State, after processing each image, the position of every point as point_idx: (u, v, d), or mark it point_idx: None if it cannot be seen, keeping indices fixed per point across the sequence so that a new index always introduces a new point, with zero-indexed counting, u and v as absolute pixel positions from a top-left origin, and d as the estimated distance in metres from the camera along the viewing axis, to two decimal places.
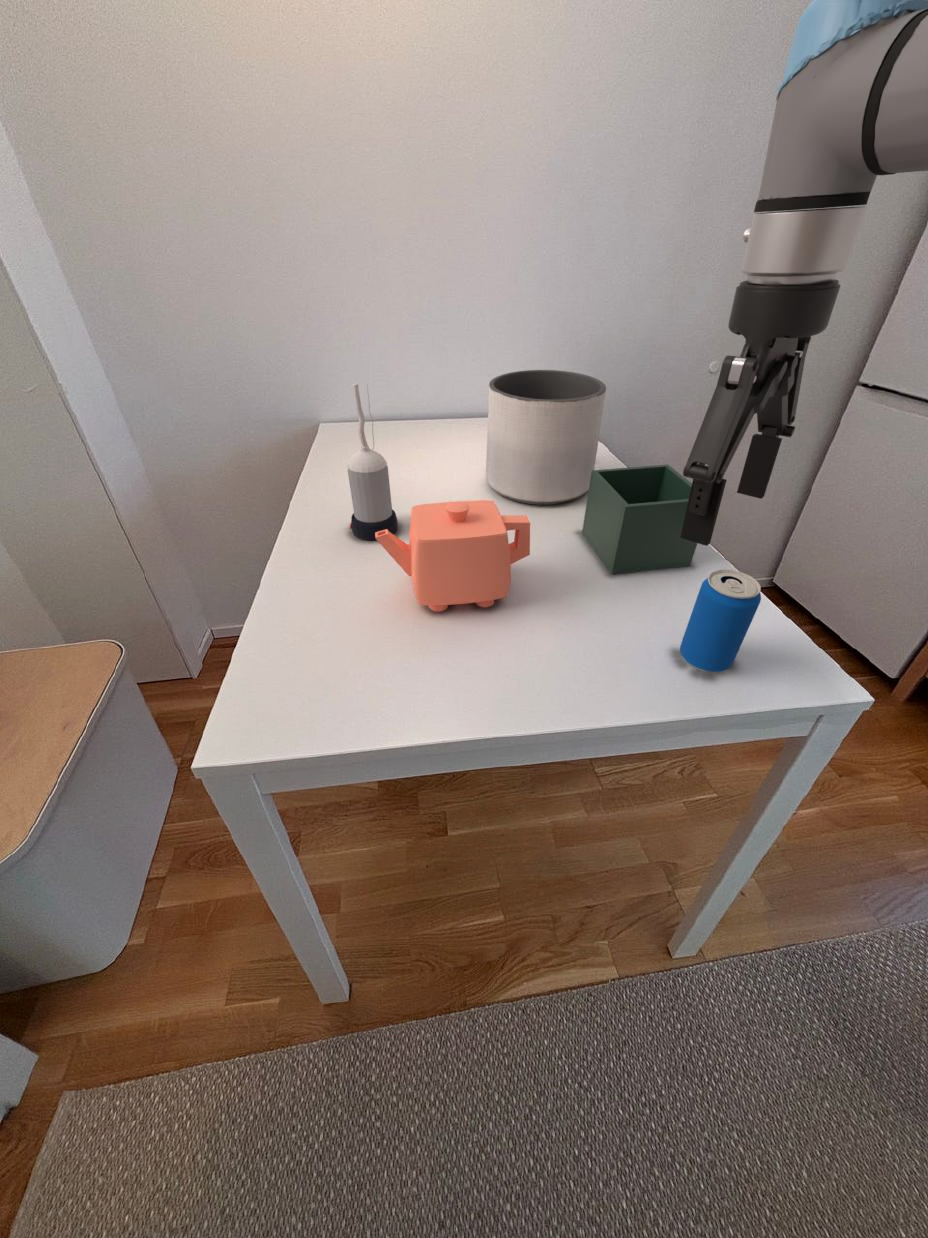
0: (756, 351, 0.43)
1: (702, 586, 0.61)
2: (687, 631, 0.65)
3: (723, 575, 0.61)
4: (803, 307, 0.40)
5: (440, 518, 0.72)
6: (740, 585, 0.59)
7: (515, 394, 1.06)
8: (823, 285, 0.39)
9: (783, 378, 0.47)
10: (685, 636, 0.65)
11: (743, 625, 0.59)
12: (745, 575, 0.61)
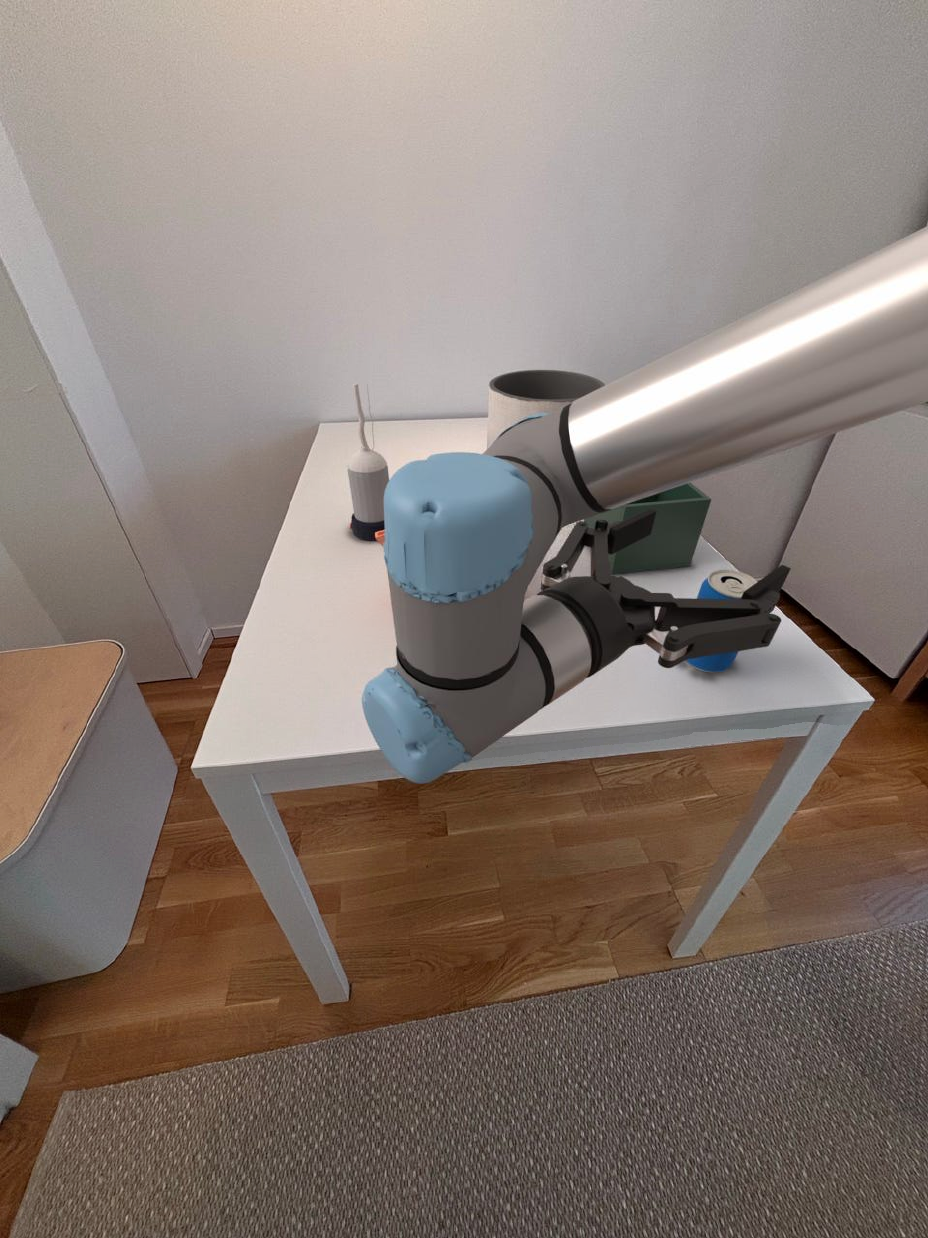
0: (637, 635, 0.39)
1: (702, 586, 0.61)
2: None
3: (723, 575, 0.61)
4: (607, 622, 0.37)
5: None
6: (740, 585, 0.59)
7: (515, 394, 1.06)
8: (584, 615, 0.37)
9: None
10: None
11: None
12: (745, 575, 0.61)
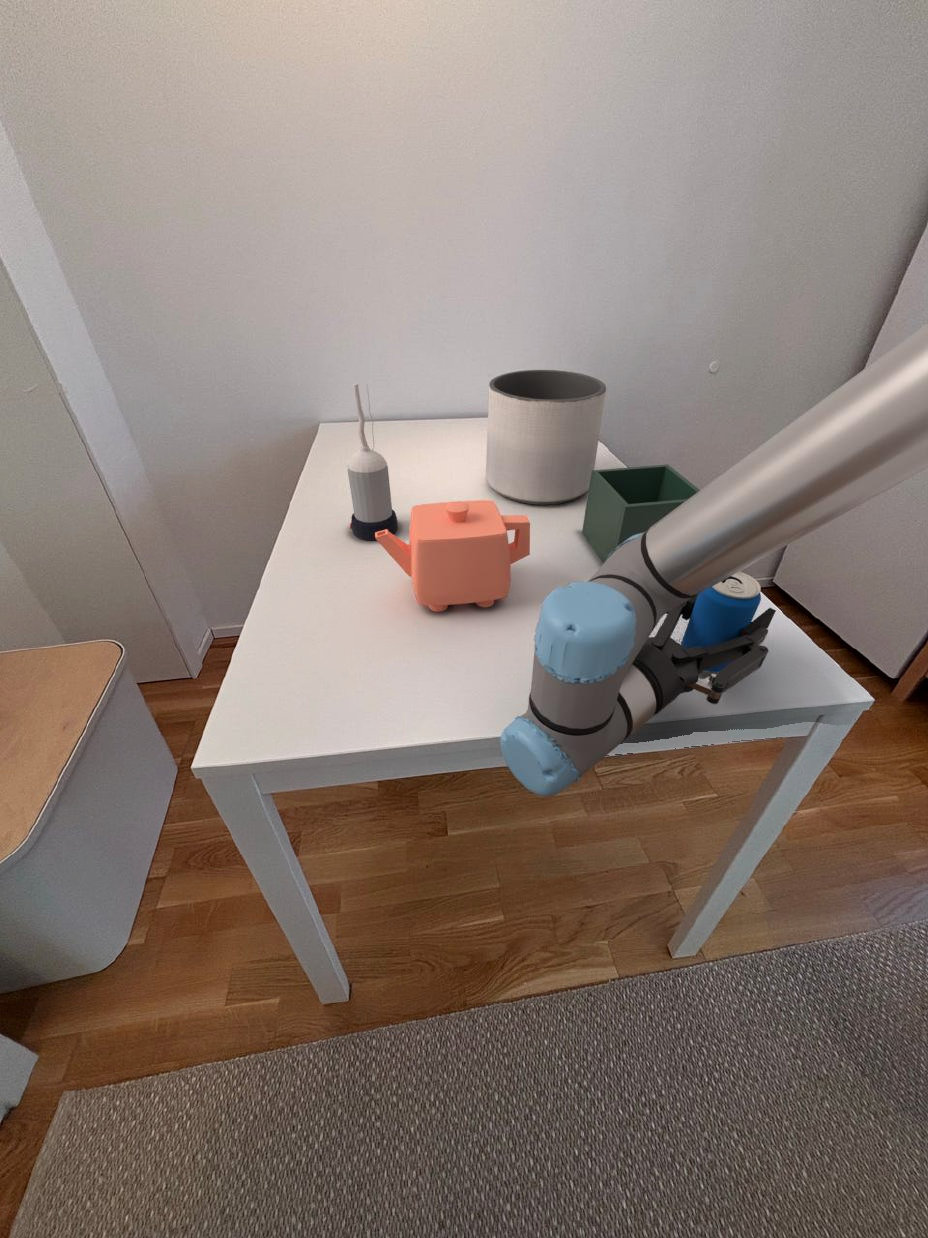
0: (685, 685, 0.54)
1: None
2: (687, 631, 0.65)
3: None
4: (666, 679, 0.52)
5: (440, 518, 0.72)
6: (740, 585, 0.59)
7: (515, 394, 1.06)
8: (650, 674, 0.51)
9: None
10: (685, 636, 0.65)
11: (743, 625, 0.59)
12: (745, 575, 0.61)
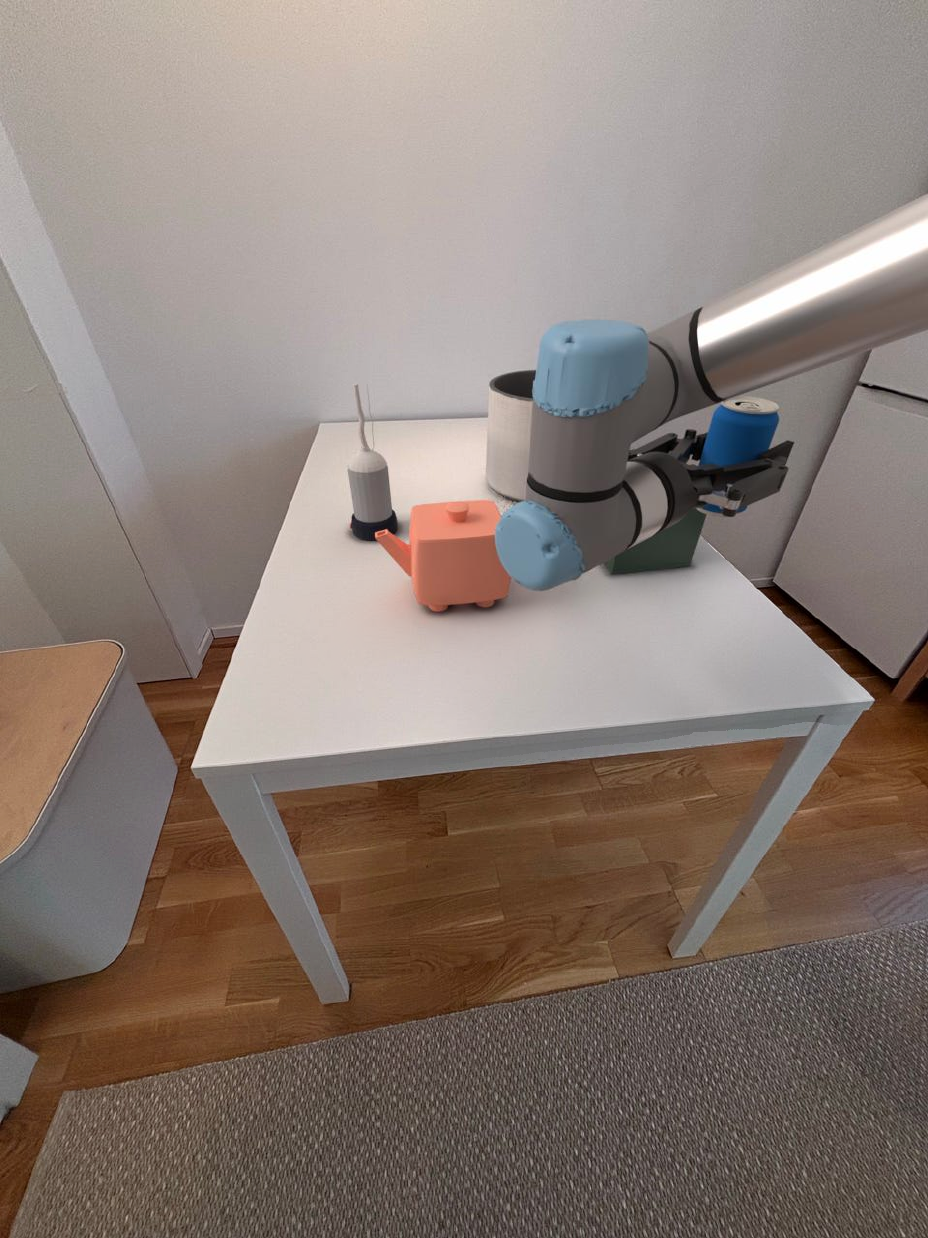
0: (699, 497, 0.49)
1: (715, 412, 0.56)
2: None
3: (737, 401, 0.56)
4: (678, 480, 0.47)
5: (440, 518, 0.72)
6: (757, 406, 0.54)
7: (515, 394, 1.06)
8: (660, 473, 0.46)
9: None
10: None
11: (759, 449, 0.55)
12: (761, 400, 0.56)
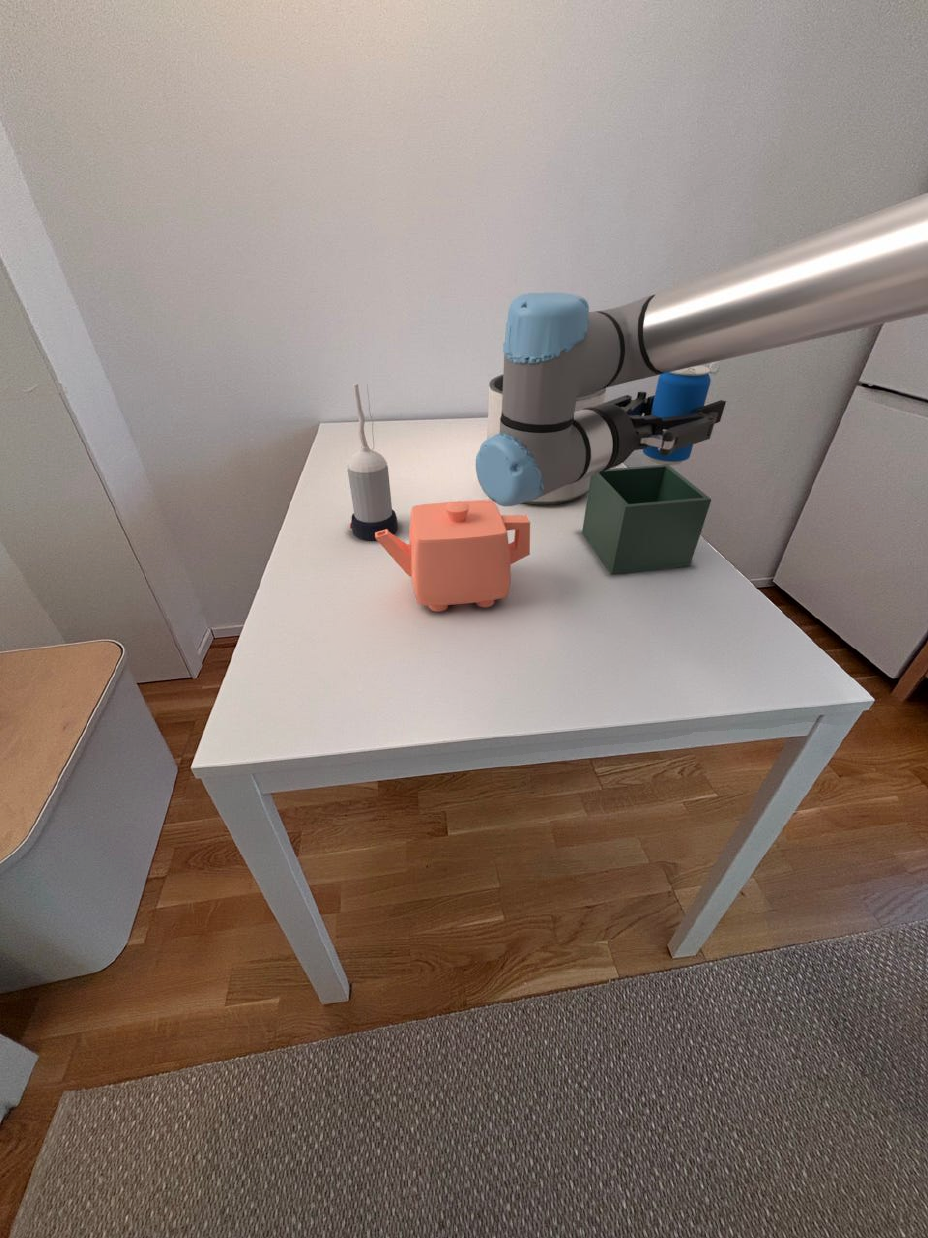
0: (640, 440, 0.61)
1: (659, 376, 0.68)
2: None
3: None
4: (622, 424, 0.59)
5: (440, 518, 0.72)
6: (692, 370, 0.67)
7: None
8: (607, 418, 0.59)
9: None
10: None
11: (695, 405, 0.67)
12: (697, 366, 0.68)
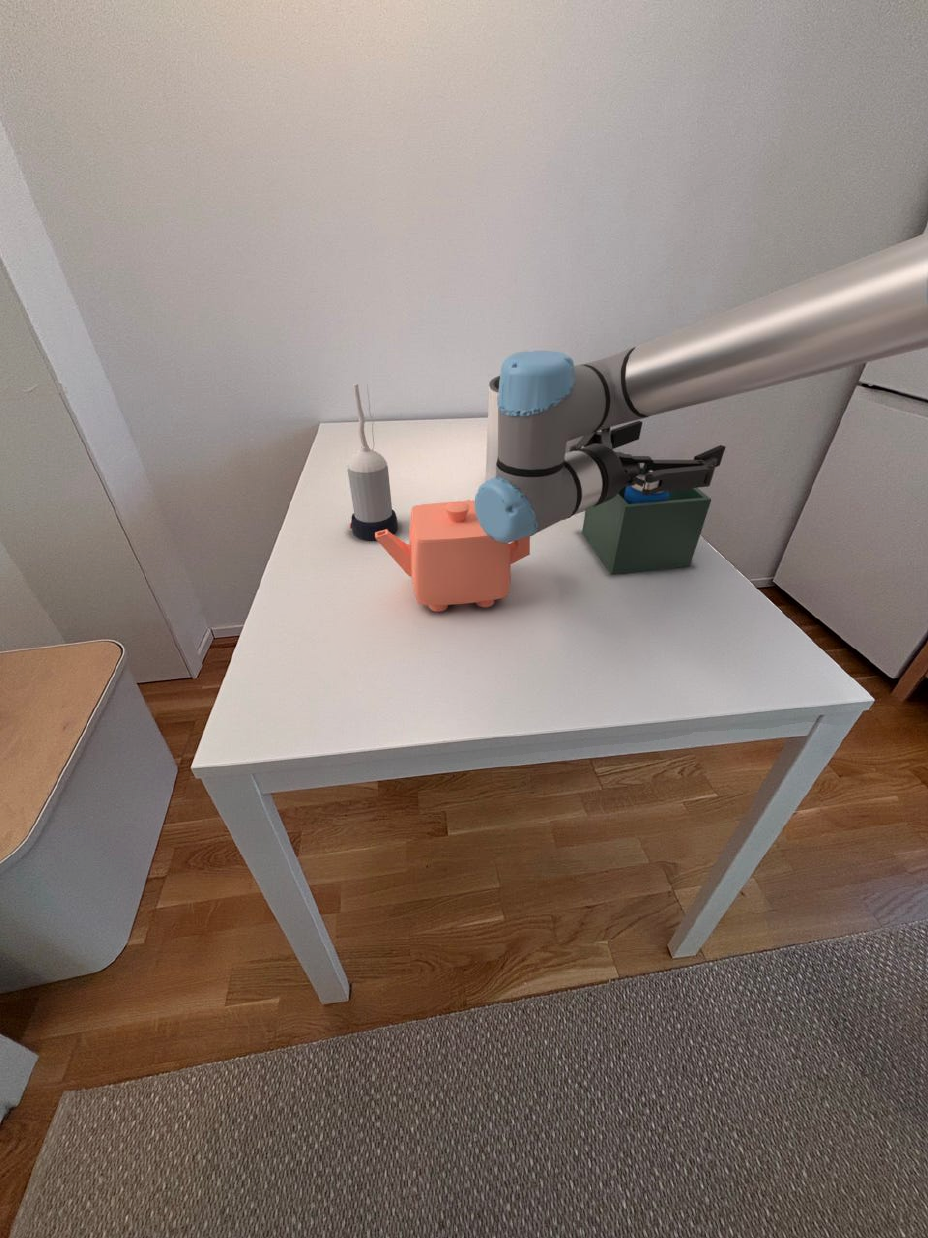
0: (629, 477, 0.66)
1: (626, 489, 0.80)
2: None
3: None
4: (611, 464, 0.63)
5: (440, 518, 0.72)
6: None
7: None
8: (597, 459, 0.63)
9: None
10: None
11: None
12: None
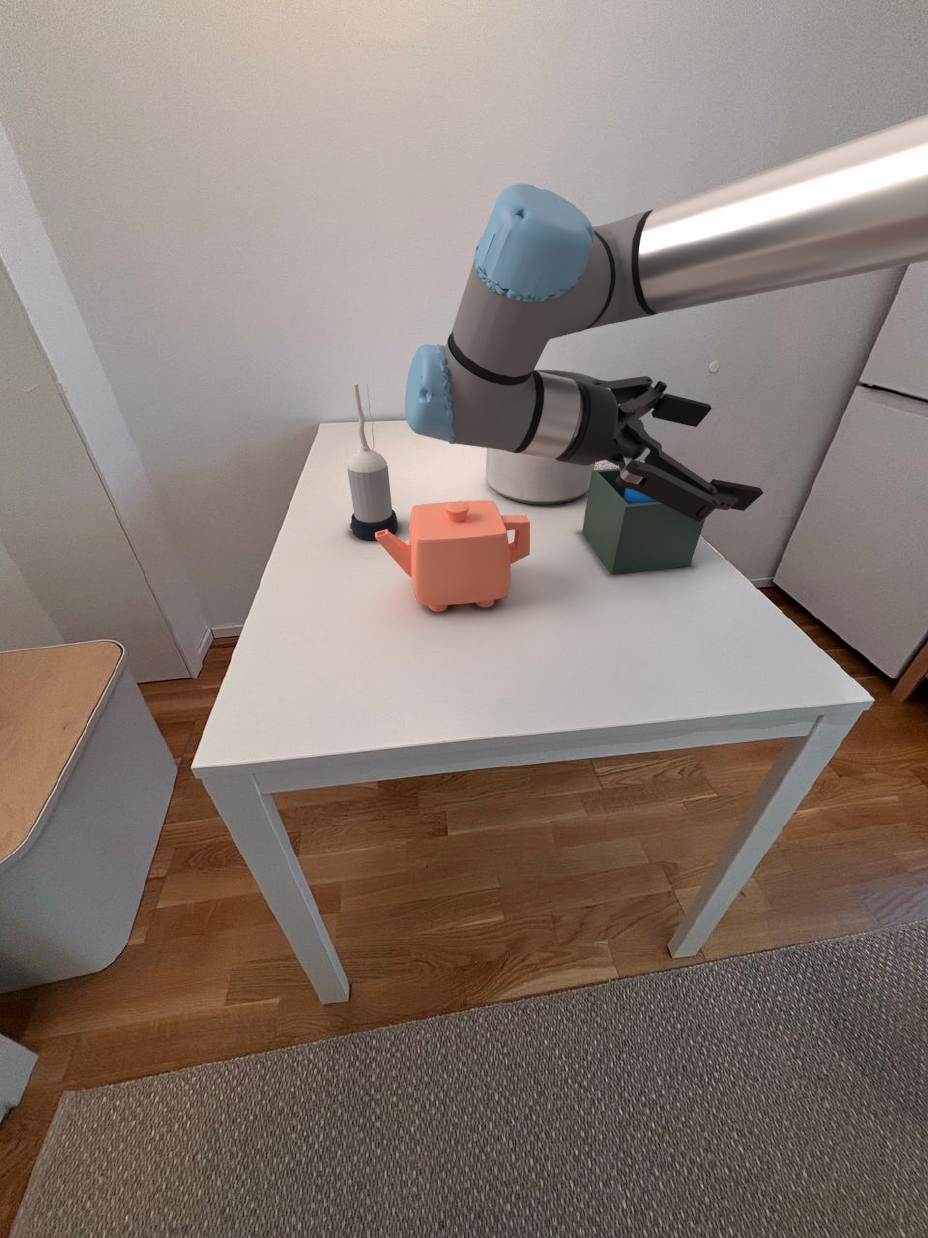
0: (616, 453, 0.50)
1: (626, 489, 0.80)
2: None
3: None
4: (599, 422, 0.48)
5: (440, 518, 0.72)
6: None
7: None
8: (587, 406, 0.47)
9: (631, 413, 0.53)
10: None
11: None
12: None
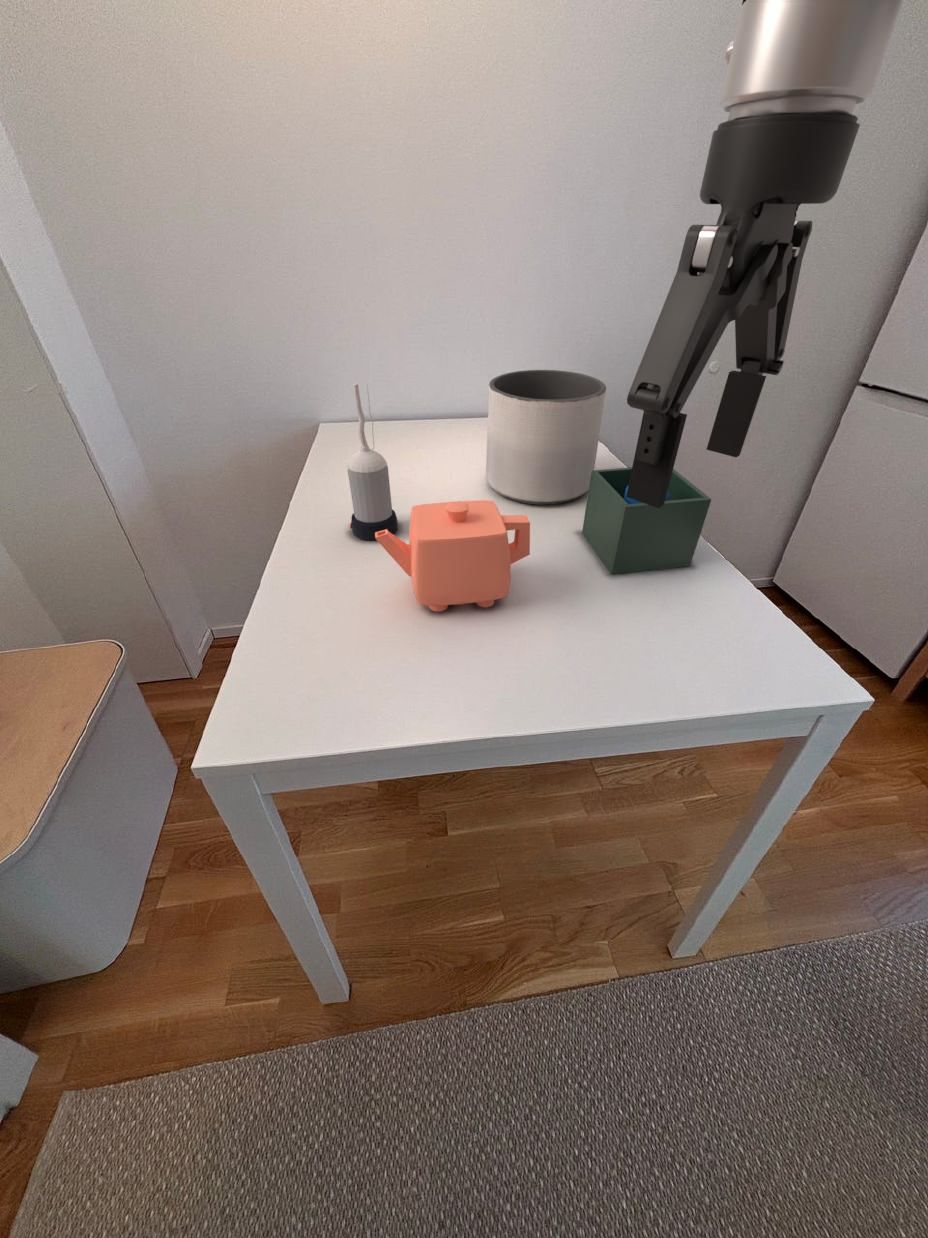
0: (735, 223, 0.30)
1: (626, 489, 0.80)
2: None
3: None
4: (805, 149, 0.27)
5: (440, 518, 0.72)
6: None
7: (515, 394, 1.06)
8: (835, 114, 0.27)
9: (771, 279, 0.34)
10: None
11: None
12: None
